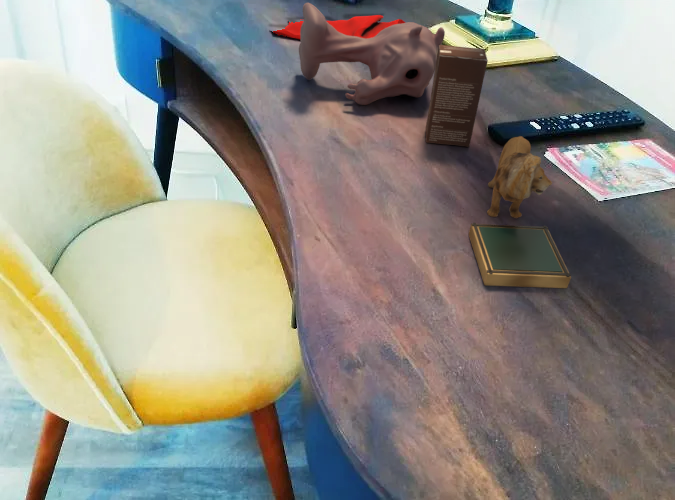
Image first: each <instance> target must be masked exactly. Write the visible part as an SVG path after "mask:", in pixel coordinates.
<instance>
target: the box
mask: <svg viewBox="0 0 675 500" xmlns="http://www.w3.org/2000/svg"><path fill="white" fill-rule="evenodd" d="M488 62H489V61H488V57H487V54H486V50H485V48H479V47H465V46H457V45H446V44H441V45H439V48H438V54H437V60H436V66H435V71H434V74H433V78H432V80H433V81H432V85H431V92H430V98H429V99H430V100H429V104H428V112H427V118H426V124H425V142H426V143H427V144H439V145H440V144H441V145H451V146H459V147H467V148H470V145H471V140H472V137H473V136H472V135H473V131H474V127H475V122H476V118H477V112H478V108H479V103H480V99H481V94H482V88H483V84H484V79H485V75H486V70H487V66H488Z"/></svg>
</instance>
